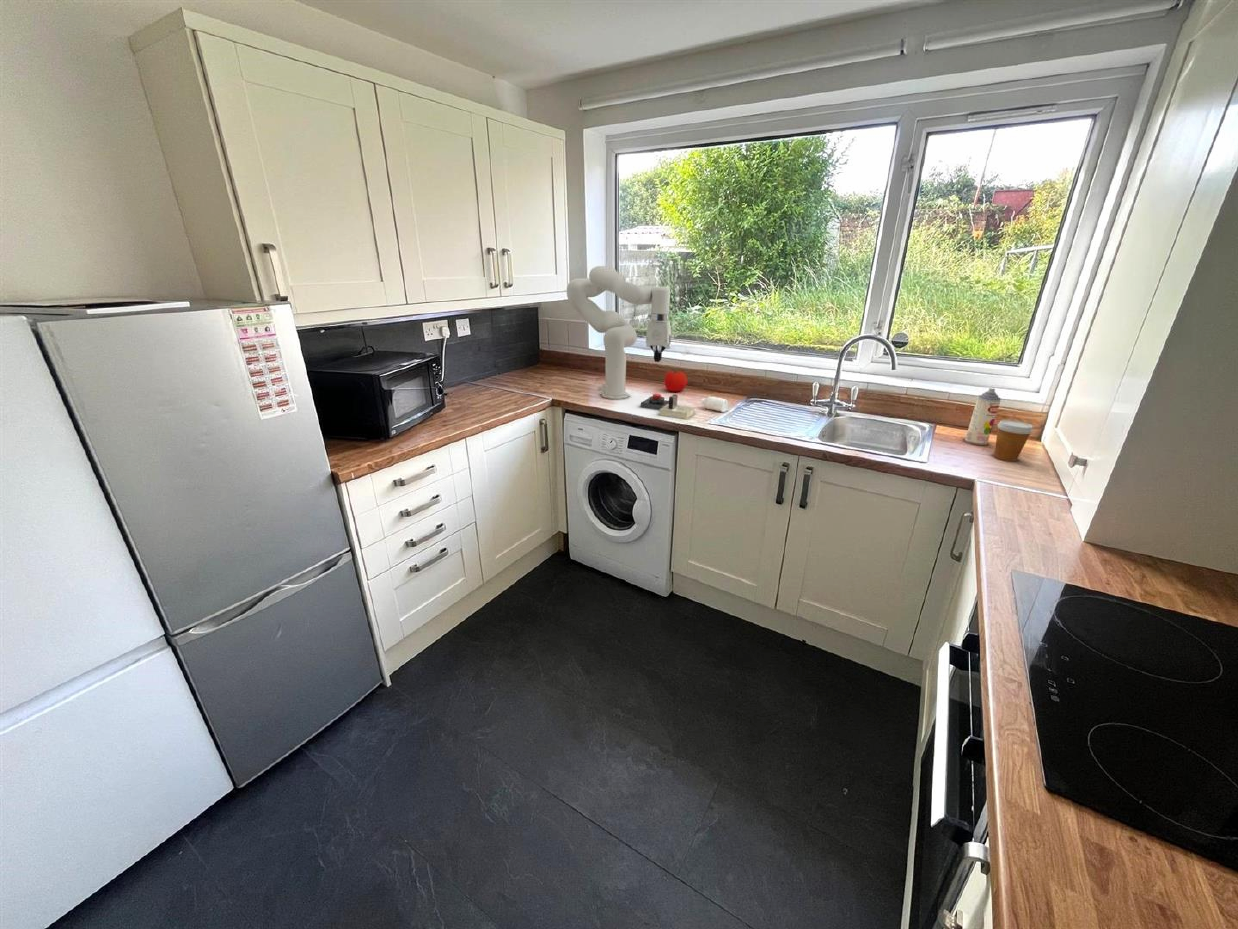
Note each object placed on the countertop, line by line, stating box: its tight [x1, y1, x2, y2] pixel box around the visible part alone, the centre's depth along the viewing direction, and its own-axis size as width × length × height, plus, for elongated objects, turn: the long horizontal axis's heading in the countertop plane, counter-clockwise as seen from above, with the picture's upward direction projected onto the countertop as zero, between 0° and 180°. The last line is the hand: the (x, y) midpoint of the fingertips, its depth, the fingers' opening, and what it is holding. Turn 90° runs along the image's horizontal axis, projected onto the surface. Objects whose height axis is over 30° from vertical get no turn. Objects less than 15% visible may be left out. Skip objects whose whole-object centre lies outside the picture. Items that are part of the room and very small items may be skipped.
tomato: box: [664, 369, 688, 393], centre depth 247 cm, size 12×12×10 cm
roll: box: [699, 396, 729, 413], centre depth 216 cm, size 6×12×6 cm, turn 51°
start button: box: [652, 393, 662, 399], centre depth 218 cm, size 4×4×2 cm
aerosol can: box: [964, 387, 1001, 446], centre depth 179 cm, size 7×7×20 cm
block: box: [640, 395, 669, 411], centre depth 219 cm, size 11×9×4 cm
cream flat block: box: [658, 404, 696, 420], centre depth 209 cm, size 13×10×3 cm
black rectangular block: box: [668, 393, 679, 409], centre depth 208 cm, size 6×2×5 cm, turn 154°
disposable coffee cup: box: [993, 419, 1034, 462], centre depth 165 cm, size 10×10×12 cm
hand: (657, 361), depth 217 cm, fingers closed
